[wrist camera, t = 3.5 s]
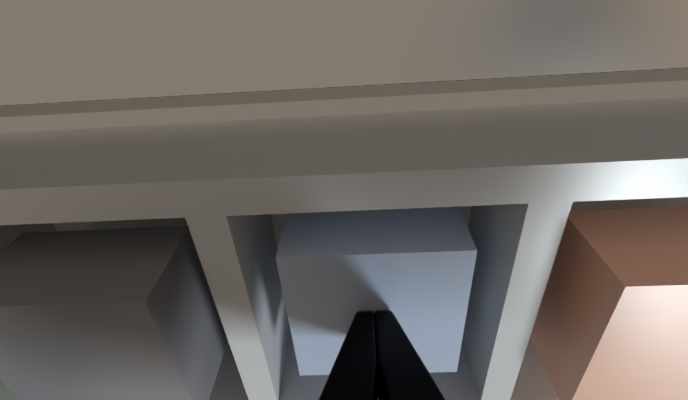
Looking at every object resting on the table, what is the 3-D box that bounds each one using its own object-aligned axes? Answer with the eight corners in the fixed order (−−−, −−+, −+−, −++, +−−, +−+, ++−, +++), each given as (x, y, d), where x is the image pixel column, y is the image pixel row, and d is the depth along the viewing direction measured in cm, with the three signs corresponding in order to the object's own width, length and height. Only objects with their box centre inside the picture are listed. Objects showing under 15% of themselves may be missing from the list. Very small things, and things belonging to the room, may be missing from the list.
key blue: (308, 306, 12) (299, 375, 10) (290, 196, 10) (275, 257, 8) (439, 302, 12) (456, 372, 10) (451, 189, 10) (477, 250, 8)
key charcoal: (93, 341, 12) (39, 422, 10) (23, 232, 9) (-67, 308, 7) (228, 338, 11) (202, 419, 9) (190, 226, 9) (144, 301, 7)
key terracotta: (526, 329, 11) (565, 413, 9) (562, 210, 9) (625, 286, 7) (675, 326, 11) (750, 410, 9) (752, 203, 9) (874, 278, 7)
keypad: (-40, 330, 15) (-149, 434, 12) (-235, 118, 11) (-505, 194, 7) (644, 310, 14) (735, 419, 11) (777, 62, 9) (1015, 121, 6)
